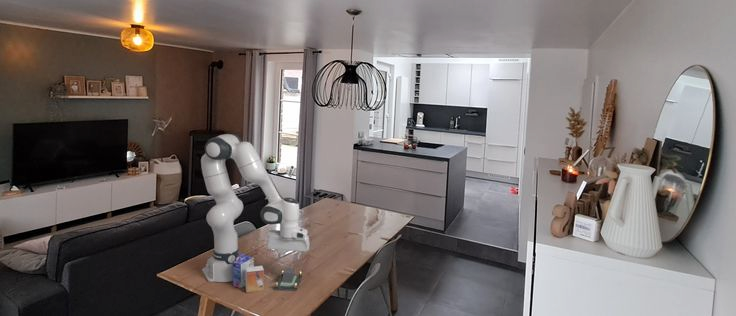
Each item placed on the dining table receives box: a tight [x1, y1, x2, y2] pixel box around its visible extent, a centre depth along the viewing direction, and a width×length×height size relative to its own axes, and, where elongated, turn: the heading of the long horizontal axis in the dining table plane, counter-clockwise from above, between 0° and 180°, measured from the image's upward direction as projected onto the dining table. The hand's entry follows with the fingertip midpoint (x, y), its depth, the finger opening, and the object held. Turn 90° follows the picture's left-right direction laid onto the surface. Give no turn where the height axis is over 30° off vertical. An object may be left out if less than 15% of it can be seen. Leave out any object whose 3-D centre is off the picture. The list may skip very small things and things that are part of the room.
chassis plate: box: [273, 269, 303, 292], centre depth 205 cm, size 11×15×4 cm
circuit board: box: [280, 267, 297, 287], centre depth 204 cm, size 6×10×6 cm, turn 179°
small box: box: [244, 265, 265, 294], centre depth 197 cm, size 8×6×10 cm
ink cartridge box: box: [232, 253, 255, 289], centre depth 202 cm, size 10×6×14 cm, turn 158°
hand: (287, 258), depth 203 cm, fingers open, 8 cm apart
